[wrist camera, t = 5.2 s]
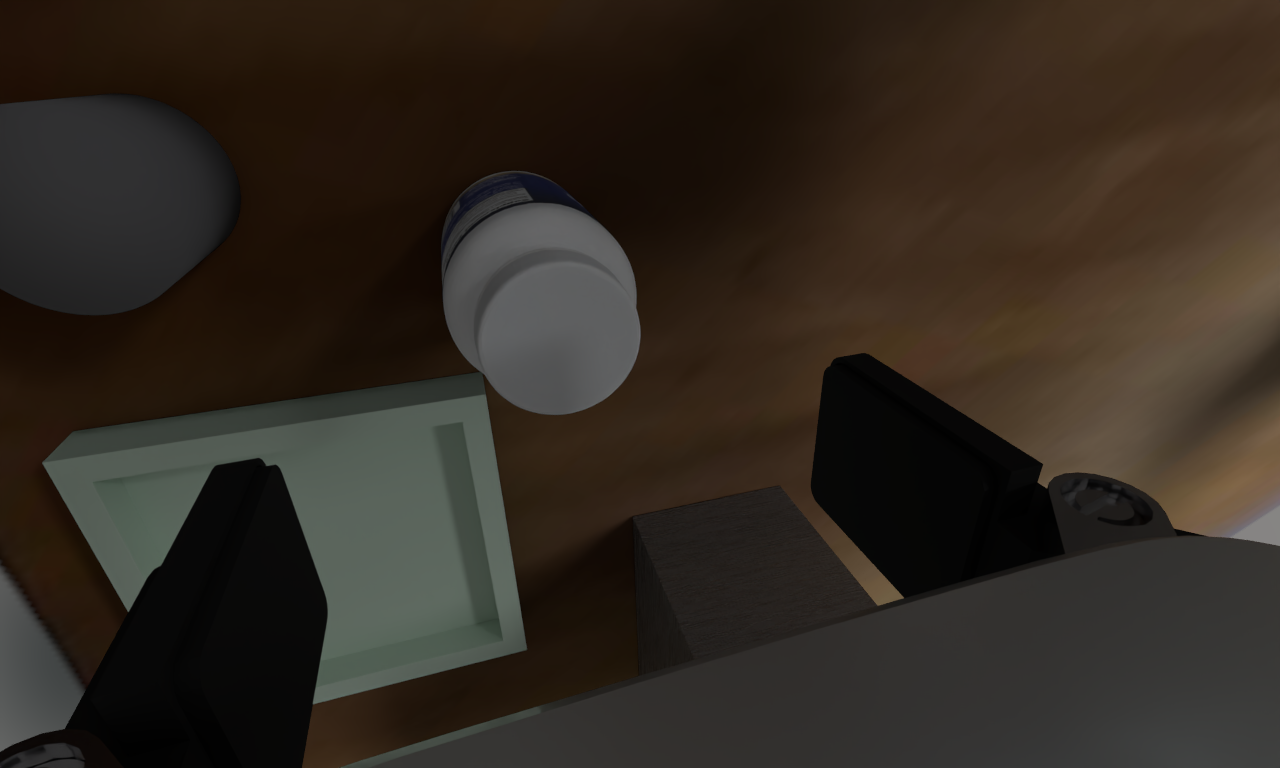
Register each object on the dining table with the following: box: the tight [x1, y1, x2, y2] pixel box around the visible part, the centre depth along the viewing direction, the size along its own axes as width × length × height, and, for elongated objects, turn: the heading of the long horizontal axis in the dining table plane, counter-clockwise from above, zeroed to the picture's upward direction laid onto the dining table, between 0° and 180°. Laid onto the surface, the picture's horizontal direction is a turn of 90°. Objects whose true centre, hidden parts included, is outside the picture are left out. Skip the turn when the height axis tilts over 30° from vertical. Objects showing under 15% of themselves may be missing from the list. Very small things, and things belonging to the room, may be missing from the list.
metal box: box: [633, 486, 877, 676], centre depth 28 cm, size 9×13×16 cm
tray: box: [42, 372, 527, 704], centre depth 26 cm, size 14×14×2 cm
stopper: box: [0, 94, 241, 315], centre depth 17 cm, size 5×5×5 cm
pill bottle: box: [441, 171, 641, 415], centre depth 19 cm, size 5×5×10 cm
